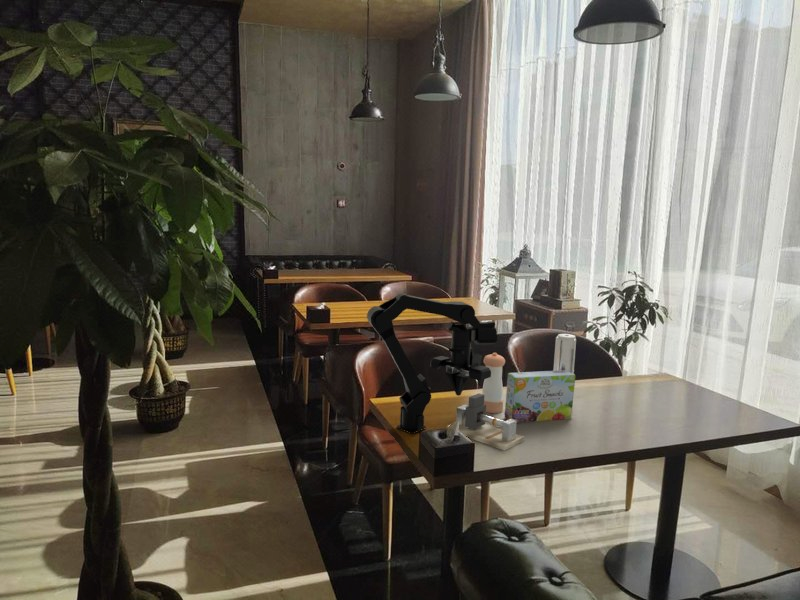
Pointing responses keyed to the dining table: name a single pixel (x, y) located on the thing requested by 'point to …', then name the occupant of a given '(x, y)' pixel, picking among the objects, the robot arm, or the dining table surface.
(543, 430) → the dining table surface
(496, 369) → the pepper shaker
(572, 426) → the dining table surface
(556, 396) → the snack box
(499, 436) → the board
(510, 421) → the pipe rig
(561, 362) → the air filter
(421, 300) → the robot arm
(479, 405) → the grey upright block
